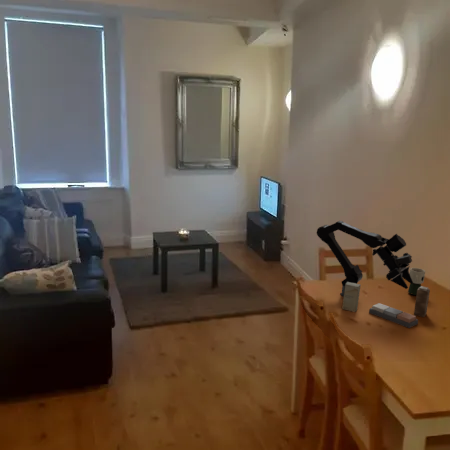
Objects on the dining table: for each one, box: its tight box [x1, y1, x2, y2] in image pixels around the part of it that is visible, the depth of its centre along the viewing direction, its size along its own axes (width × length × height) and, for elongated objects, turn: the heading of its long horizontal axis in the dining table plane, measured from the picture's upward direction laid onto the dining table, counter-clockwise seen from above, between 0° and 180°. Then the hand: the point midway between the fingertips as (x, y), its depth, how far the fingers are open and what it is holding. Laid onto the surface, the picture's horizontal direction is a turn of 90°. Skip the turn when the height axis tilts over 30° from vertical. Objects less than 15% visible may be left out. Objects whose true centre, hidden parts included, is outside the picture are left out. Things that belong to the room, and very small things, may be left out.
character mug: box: [407, 267, 426, 296], centre depth 245 cm, size 11×7×13 cm, turn 158°
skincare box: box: [341, 282, 361, 313], centre depth 221 cm, size 6×4×12 cm
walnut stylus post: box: [413, 285, 431, 318], centre depth 219 cm, size 4×4×13 cm
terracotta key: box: [397, 311, 417, 323], centre depth 210 cm, size 6×6×2 cm
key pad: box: [368, 302, 419, 329], centre depth 214 cm, size 20×7×4 cm, turn 41°
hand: (409, 285), depth 221 cm, fingers open, 9 cm apart
